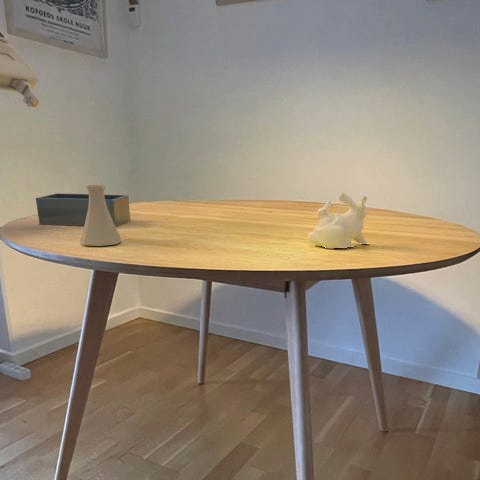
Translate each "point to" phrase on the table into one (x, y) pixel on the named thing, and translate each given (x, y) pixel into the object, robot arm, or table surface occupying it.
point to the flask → (98, 220)
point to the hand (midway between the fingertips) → (16, 102)
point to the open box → (78, 209)
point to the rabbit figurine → (340, 225)
